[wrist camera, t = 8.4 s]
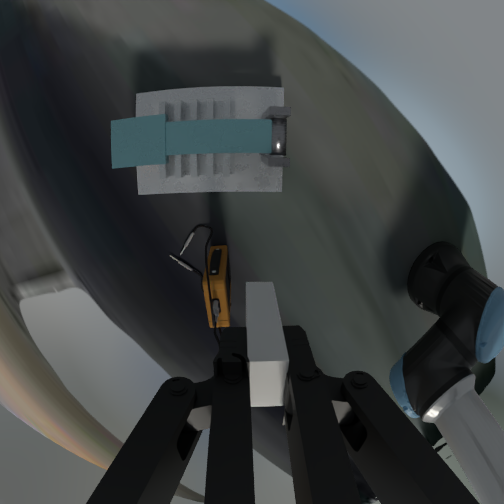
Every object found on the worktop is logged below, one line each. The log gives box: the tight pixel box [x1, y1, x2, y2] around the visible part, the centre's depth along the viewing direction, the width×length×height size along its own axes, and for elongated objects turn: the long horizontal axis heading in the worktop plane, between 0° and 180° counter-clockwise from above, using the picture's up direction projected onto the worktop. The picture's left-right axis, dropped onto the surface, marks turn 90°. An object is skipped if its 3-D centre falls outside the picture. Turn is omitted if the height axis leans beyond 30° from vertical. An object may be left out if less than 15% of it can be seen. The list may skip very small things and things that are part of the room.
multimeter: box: [170, 225, 231, 356], centre depth 39 cm, size 15×10×20 cm
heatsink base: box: [136, 86, 291, 195], centre depth 35 cm, size 22×16×12 cm
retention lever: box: [111, 114, 287, 169], centre depth 31 cm, size 21×6×2 cm, turn 89°
